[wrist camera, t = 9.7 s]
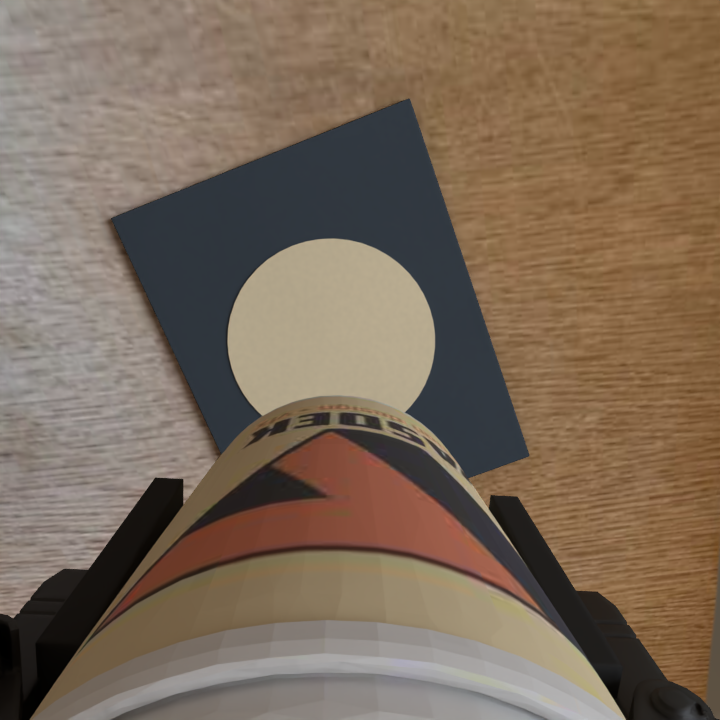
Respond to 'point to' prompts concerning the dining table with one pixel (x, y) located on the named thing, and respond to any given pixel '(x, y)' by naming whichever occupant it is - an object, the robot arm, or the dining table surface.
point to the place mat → (326, 289)
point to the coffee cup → (331, 592)
